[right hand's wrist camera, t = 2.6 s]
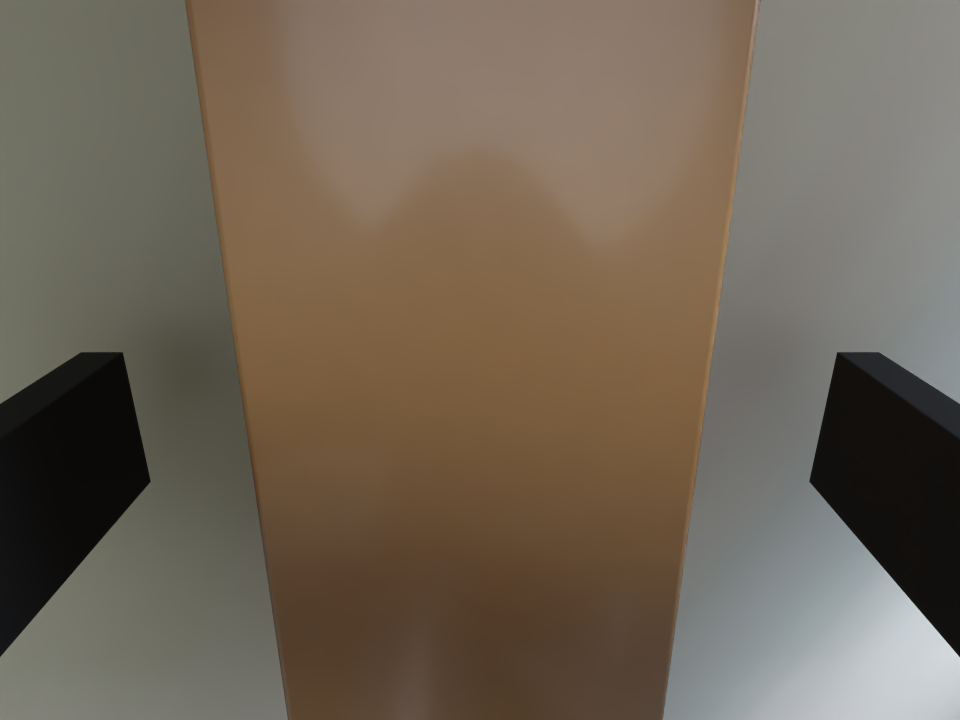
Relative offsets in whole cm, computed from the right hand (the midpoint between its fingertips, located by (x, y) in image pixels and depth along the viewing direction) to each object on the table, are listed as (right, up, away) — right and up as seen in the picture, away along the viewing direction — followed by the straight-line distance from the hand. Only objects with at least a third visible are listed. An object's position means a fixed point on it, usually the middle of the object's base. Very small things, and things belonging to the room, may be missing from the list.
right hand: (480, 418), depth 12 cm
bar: (0, +24, -6) cm, 25 cm away
